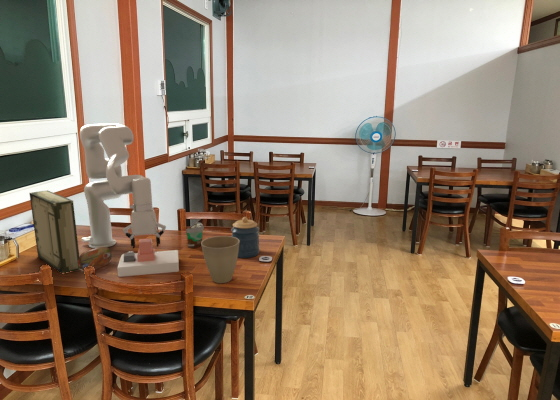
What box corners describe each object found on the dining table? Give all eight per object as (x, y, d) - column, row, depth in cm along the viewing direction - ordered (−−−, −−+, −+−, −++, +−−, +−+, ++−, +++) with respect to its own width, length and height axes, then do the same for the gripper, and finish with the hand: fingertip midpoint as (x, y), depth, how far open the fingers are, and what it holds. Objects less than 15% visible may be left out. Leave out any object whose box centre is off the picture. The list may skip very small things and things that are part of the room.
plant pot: (212, 270, 184) (211, 234, 180) (245, 274, 180) (245, 237, 176) (196, 285, 170) (194, 245, 166) (231, 289, 166) (230, 249, 162)
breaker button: (124, 266, 184) (123, 256, 183) (125, 263, 188) (124, 253, 187) (134, 265, 185) (133, 255, 184) (135, 262, 188) (134, 252, 187)
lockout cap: (137, 261, 183) (136, 243, 181) (139, 256, 190) (137, 238, 188) (154, 260, 185) (153, 242, 183) (155, 255, 191) (154, 237, 189)
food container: (199, 249, 210) (198, 229, 208) (186, 248, 212) (185, 228, 209) (208, 241, 222) (207, 222, 220) (196, 240, 223) (195, 221, 221)
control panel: (80, 269, 186) (73, 200, 179) (62, 274, 181) (53, 203, 174) (55, 252, 206) (47, 190, 200) (38, 256, 201) (29, 192, 195)
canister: (225, 253, 204) (224, 217, 200) (246, 247, 213) (245, 211, 209) (244, 260, 195) (244, 222, 192) (265, 253, 205) (264, 216, 201)
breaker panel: (118, 276, 178) (116, 263, 177) (122, 262, 193) (121, 250, 192) (178, 271, 183) (178, 258, 182) (178, 258, 199) (177, 246, 197)
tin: (82, 274, 181) (80, 254, 179) (77, 272, 183) (75, 253, 181) (113, 263, 193) (111, 244, 192) (108, 261, 195) (106, 243, 193)
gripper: (119, 210, 177) (123, 251, 181) (164, 208, 181) (166, 247, 184) (122, 206, 184) (125, 245, 188) (164, 204, 188) (167, 242, 191)
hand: (145, 246), depth 186 cm, fingers open, 9 cm apart
